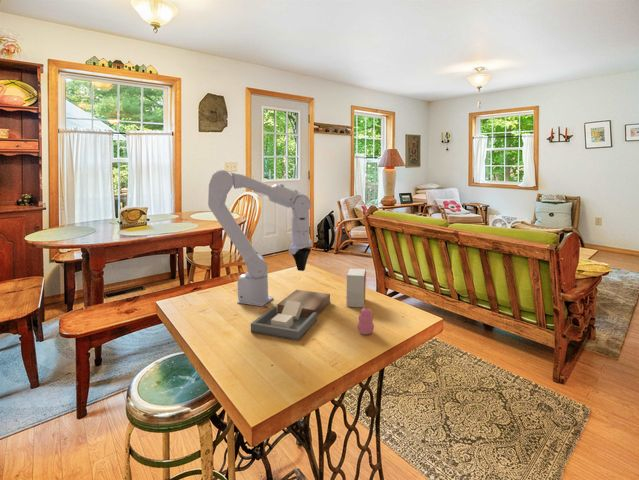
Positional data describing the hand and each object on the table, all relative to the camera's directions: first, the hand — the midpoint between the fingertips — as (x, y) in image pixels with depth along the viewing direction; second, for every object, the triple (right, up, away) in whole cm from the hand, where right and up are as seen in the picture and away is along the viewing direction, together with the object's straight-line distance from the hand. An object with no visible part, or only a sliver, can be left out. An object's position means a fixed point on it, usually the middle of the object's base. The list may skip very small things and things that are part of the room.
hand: (301, 270), depth 123 cm
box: (-4, -14, -21) cm, 25 cm away
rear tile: (-1, -11, -16) cm, 19 cm away
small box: (+18, -11, -4) cm, 21 cm away
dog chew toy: (+18, -15, -25) cm, 34 cm away
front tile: (-4, -11, -22) cm, 25 cm away
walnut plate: (+1, -11, -8) cm, 14 cm away
